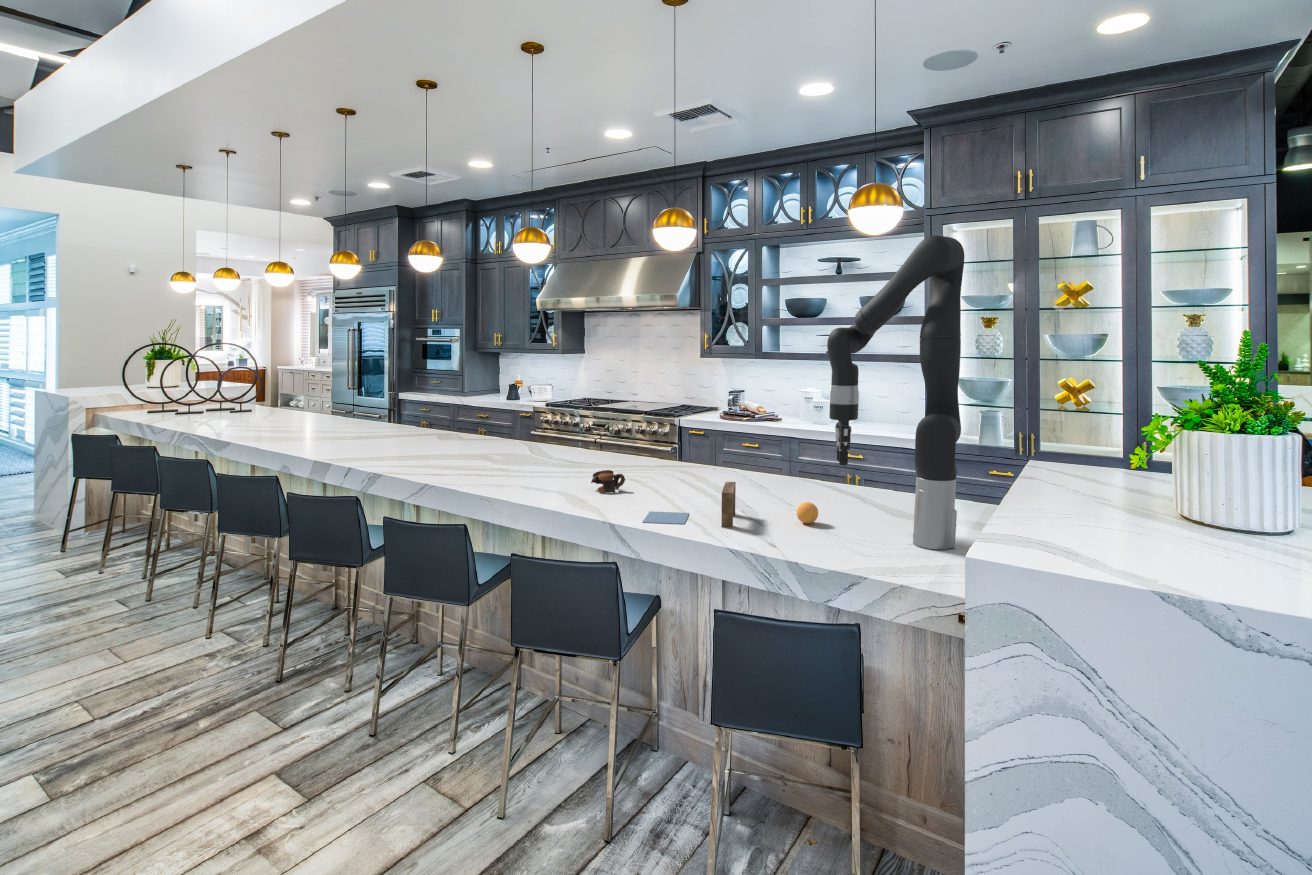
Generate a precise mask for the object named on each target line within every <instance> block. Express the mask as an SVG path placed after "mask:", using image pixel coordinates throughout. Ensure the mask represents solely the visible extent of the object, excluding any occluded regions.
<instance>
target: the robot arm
mask: <svg viewBox="0 0 1312 875" xmlns="http://www.w3.org/2000/svg"><path fill="white" fill-rule="evenodd" d="M964 267H965V250H964V246H963V245H962V244H961V242H960V240H958V239H957V238H954V237H949V236H944V235H937V234H936V235H935V234H934V235H929V236H927V237H925V238H924V239H922V241H920V242H919V243H918V244H917V245H916V247H915V248H914V249H913V251H912V252H911V253H910V254H909V256H907V258H906V260H905V261H904V262H903V264H901V266H900V267H899V269H898V270H897V271H895V273H894V274H893V275H892V277H891V278H890V279H889V280H888V282H886V284H885V285H884V286H883V287H882V288H881V289H880V290H879V291H878V292H877V293H876V294H875V295H874V296H873V297H872V298H871V299H870V300H869V301H867V302H866V304H864V305H863V306H862V307H861V308H860V309H859V310H858V311H857V313H856V314H855V316H854V323H853V324H852V325H851V326H849V327H837V328H834V329H833V330H832V331H831V332H830V333H829V335H828V337H827V347H826V349H827V354H828V360H829V364H830V368H831V382H830V383H831V384H830V385H831V387H830V391H829V393H830V394H829V417H828V418H829V419H831V420H834V421H837V422H836V423H835V426H834V427H835V428H834V431H835V445H836V460H837V461H838V463H839V465H840V466H847V465H848V462H849V451H850V450H851V441H852V440H851V435H852V434H851V433H852V426H851V425H850V421H856V420H858V419H859V401H860V400H859V396H860V394H859V393H860V392H859V371H860V370H859V367H858V365H857V364H856V363H853V359H852V355H853V354H856V353H858V352H860V351H862V350H863V349H864V348H865V347H866V346H867V345H868V343H869V342H870V341H871V339H872V338H873V337H874V335H875V334H876V333H877V331H879V329H881V328H882V327H883V326H884V325H885V324H886V323H888V322H889V321H890V320H891V319H892V318H893V317H894V316H895V315H896V314H897V312H898V311H899V310H900V309H901V307H902V305H903V303H904V302H905V300H906V299H907V297H908V296H909V295H910V293H911V292H912V291H914V290H915V288H917V287H918V286H919V285H920V284H921V283H923V282H925V281H927V279H930V280H929V282H930V294H929V295H930V297H929V303H928V306H927V308H926V311H925V314H924V317H923V319H922V320H923V321H922V323H921V326H920V333H919V361H920V368H921V372H922V377H923V380H924V384H925V389H926V390H925V392H926V393H925V394H926V401H925V402H926V404H925V414H924V417H923V418H922V419H921V420H920V421H919V422H918V424H917V426H916V430H915V440H914V464H915V469H916V471H915V472H916V473H915V474H916V475H915V476H916V477H915V492H914V493H915V495H914V496H915V497H914V498H915V499H914V510H913V511H914V513H913V515H914V516H913V533H912V544H913V545H915V546H916V547H919V548H923V549H928V550H949V549H955V548H956V537H957V536H956V534H957V533H956V532H957V518H958V515H957V514H958V511H957V510H956V506H955V505H956V504H955V503H956V490H957V473H958V471H957V465H956V446H957V445H956V444H957V442H958V441H959V439H960V437H961V434H962V424H961V423H962V422H961V416H960V405H959V381H960V373H961V372H960V371H961V370H960V369H961V353H962V351H961V350H962V346H961V345H962V344H961V341H962V337H961V336H962V332H961V330H962V329H961V327H962V326H961V315H962V313H961V307H962V306H961V297H962V296H961V295H962V294H961V293H962V284H963V275H964V269H965V268H964Z"/></svg>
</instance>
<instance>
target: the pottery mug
mask: <svg viewBox="0 0 1312 875" xmlns="http://www.w3.org/2000/svg"><path fill="white" fill-rule="evenodd" d="M625 481H626V478H625V475H624V474H622V473H617V474H615V473H614V471H613V470H610V469H605V470H603V469H602V470H599V471H596V472H594V473H593V474H592V479H591V481H590V483H591V484H596V485H602V486H598V488H597V490H598V494H599V493H601V494H604V493H614V492H615V493H616V490H619V488H620V487H622V486H623V485H624V484H625Z"/></svg>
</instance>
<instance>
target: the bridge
mask: <svg viewBox="0 0 1312 875" xmlns="http://www.w3.org/2000/svg"><path fill="white" fill-rule="evenodd" d="M736 483H737V482H736V481H725V483H724V485H723V487H722V488H723V489H722V491H721V528H733V525H734V516H736Z"/></svg>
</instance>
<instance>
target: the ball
mask: <svg viewBox="0 0 1312 875" xmlns="http://www.w3.org/2000/svg"><path fill="white" fill-rule="evenodd" d="M796 517H797V519H798V520H799V521H800V522H801V523H802V524H805V525H807V524H808V525H809V524H812V523H814V522H816V520H817V519H818V517H819V510H818V507H817V505H815V504H814V503H812V502H809V501H807V502H802V503H800V504H799V505H798V506H797V509H796Z"/></svg>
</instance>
